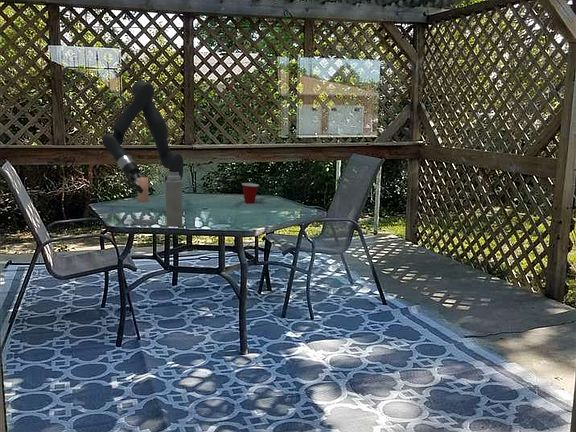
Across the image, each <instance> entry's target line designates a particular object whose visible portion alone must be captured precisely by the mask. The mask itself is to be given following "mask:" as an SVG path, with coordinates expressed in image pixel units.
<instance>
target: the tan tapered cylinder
mask: <svg viewBox="0 0 576 432" xmlns="http://www.w3.org/2000/svg"><path fill="white" fill-rule="evenodd" d="M147 177H148V176H147ZM147 177H139V178H138V184H139V185H140V187H141V188H142V189H143V192H142V193H139V192H138V191H137V202H138V203H149V197H150V196H149V193H150V192H148V185H149V184H148V179H149V177H148V178H147Z"/></svg>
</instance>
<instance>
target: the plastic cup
mask: <svg viewBox="0 0 576 432" xmlns="http://www.w3.org/2000/svg"><path fill="white" fill-rule="evenodd" d="M241 186H242V191H243V192H242V193H243V198H244V203H245V204H251V205H252V204H255V202H256V197H257V192H258V188H259V186H260V184H258V183H251V182H242V183H241Z"/></svg>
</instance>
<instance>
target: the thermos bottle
mask: <svg viewBox="0 0 576 432" xmlns="http://www.w3.org/2000/svg"><path fill="white" fill-rule="evenodd" d="M178 171H179V170H177V169H168V174H167V175H168V176H167V175H166V176H167V181H166V212H165V217H166V219H165V221H166V223H165V224H166V226H167V227H175V228H176V227H181V226H183V213H182V208H183V180H182V181H181V176H179V172H178Z"/></svg>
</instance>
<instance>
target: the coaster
mask: <svg viewBox="0 0 576 432" xmlns="http://www.w3.org/2000/svg"><path fill="white" fill-rule="evenodd" d="M131 224H132V225H135V226H152V225H154V224H157V221H156V220H154V219H136V220H132V221H131Z"/></svg>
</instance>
